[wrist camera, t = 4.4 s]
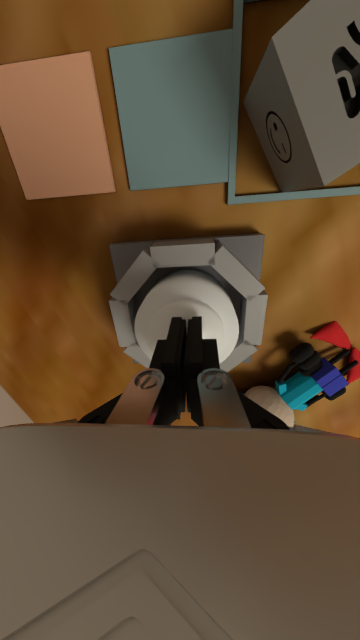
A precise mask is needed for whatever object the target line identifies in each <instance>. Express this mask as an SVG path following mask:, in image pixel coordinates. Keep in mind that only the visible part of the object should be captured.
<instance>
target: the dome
mask: <svg viewBox="0 0 360 640" xmlns="http://www.w3.org/2000/svg"><path fill="white" fill-rule="evenodd" d="M197 316H202V339H216V340H217V348H218V356H219V364H220V363H222V362H223V361H224V360H225V359H226V358H227V357H228V356H229V355H230V354H231V352H232V351H233V349H234V348H235V345H236V343H237V340H238V335H239V324H238V319H237V316H236V313H235V310H234V307H233V304H232V302H231V299H230V296H229V294H228V292H227V290H226V289H225V287H224V286H223V285H222V284H221V283H220V282H219V281H218V280H217V279H215V278H214V277H212V276H211V275H209V274H206V273H204V272H201V271H196V270H179V271H175V272H172V273H169V274H167V275H165V276H163V277H162V278H160V279H159V280H158V281H157V282H156V283H155V284H154V285H153V286H152V287H151V289H150V290H149V292H148V294H147V295H146V297H145V299H144V301H143V302H142V304H141V306H140V308H139V310H138V312H137V315H136V318H135V328H134V329H135V336H136V339H137V342H138V344H139V346H140V348H141V349H142V351H143V352H144V353H145V355H146V356H147V357H148V358H149V359H150V360H151V359H152V356H153V353H154V350H155V347H156V343H157V341H158V340H165V339H167V335H168V331H169V327H170V323H171V319H172V317H182V319H185V320H186V333H187V328H188V319H192V317H197Z"/></svg>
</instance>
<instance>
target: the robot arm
mask: <svg viewBox="0 0 360 640" xmlns="http://www.w3.org/2000/svg"><path fill="white" fill-rule="evenodd" d="M186 395H187V408H188V412H191V419H192V420H193V421H194V422H195V423H196V424H198V425H199V426H171V423H172V422H173V421H175V420H176V419H180V413H181V412H185V400H186ZM0 640H360V438H357V437H352V436H348V435H341V434H335V433H331V432H326V431H322V430H317V429H312V428H308V427H303V426H299V425H294V427H289V426H287V425H286V423H284V422H283V421H282V420H281V419H279V418H278V417H276V416H275V415H273V414H272V413H270V412H269V411H267V410H266V409H264V408H263V407H261V406H260V405H258V404H257V403H255V402H254V401H252V400H251V399H249V398H248V397H246V396H245V395H243V394H242V393H240V392H239V391H237V390H236V388H235V385H234V383H233V380H232V378H231V376H230V375H229V374H228V373H227V372H226V371H224V370H222V369H220V364H219V356H218V348H217V340H216V339H202V316H197V317H192V319H188V328H187V333H186V320H185V319H182V317H172V319H171V323H170V327H169V331H168V335H167V339H165V340H158V341H157V343H156V347H155V350H154V353H153V356H152V359H151V363H150V366H149V368H147V369H143V370H141V371H139V372H137V373H136V374H135V375H134V376H133V377H132V379H131V380H130V382H129V384H128V386H127V387H126V389H125V391H124V392H123V393H122V394H120V395H119V396H117V397H115V398H114V399H112V400H110V401H109V402H107V403H105V404H103V405H102V406H100V407H98V408H97V409H95V410H93V411H92V412H90V413H88V414H87V415H85V416H84V417H83V418H82V419H81V420H80V421H77V420H76V419H71V420H66V421H60V422H55V423H31V424H19V425H10V426H5V427H0Z"/></svg>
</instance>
